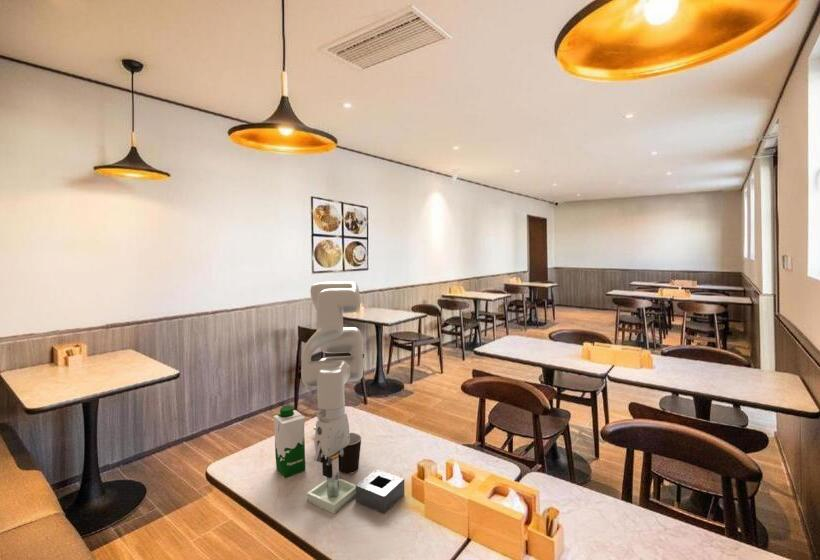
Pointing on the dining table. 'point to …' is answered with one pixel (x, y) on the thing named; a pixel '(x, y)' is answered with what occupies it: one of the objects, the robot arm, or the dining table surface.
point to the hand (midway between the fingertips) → (332, 472)
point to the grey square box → (380, 491)
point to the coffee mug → (351, 454)
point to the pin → (334, 477)
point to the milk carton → (289, 441)
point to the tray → (332, 503)
